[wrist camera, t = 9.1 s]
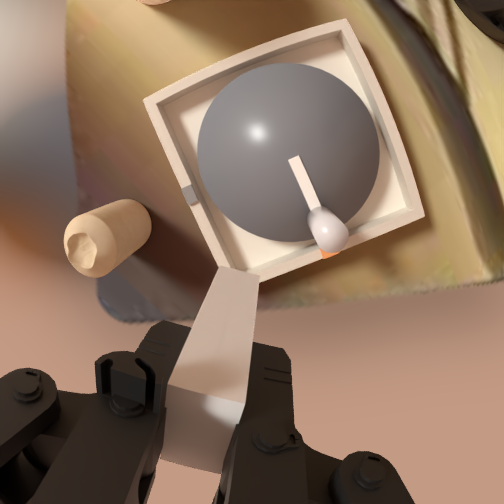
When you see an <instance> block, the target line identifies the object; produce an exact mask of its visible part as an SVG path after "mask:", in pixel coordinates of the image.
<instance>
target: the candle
mask: <svg viewBox="0 0 504 504" xmlns="http://www.w3.org/2000/svg"><path fill="white" fill-rule="evenodd" d="M150 233H151V218H150V216H149V213H148V211H147V210H146V209H145V207H144V206H143V205H142V204H140V203H139V202H137V201H135V200H131V199H122V200H119V201H116V202H113V203H110V204H108V205H105V206H102V207H100V208H97V209H95V210H92V211H89V212H87V213H84V214H82V215H79V216H77V217H75V218H74V219H73V220H72V221H71V222H70V223H69V224H68V226H67V228H66V231H65V235H64V247H65V252H66V255H67V257H68V259H69V261H70V262H71V264H72V265H73V266H74V268H75V269H77V270H78V271H79V272H80V273H82V274H84V275H86V276H89V277H94V278H97V277H102V276H104V275H106V274H107V273H109V272H110V271H111V270H113V269H114V268H115V267H116V266H118V265H119V264H120V263H121V262H122V261H124V260H125V259H126V258H127V257H129V256H130V255H131V254H133V253H134V252H135V251H136V250H138V249H139V248H140V247H141V246H142V245H144V244H145V242H146V241H147V240H148V238H149V236H150Z"/></svg>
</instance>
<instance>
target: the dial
mask: <svg viewBox="0 0 504 504" xmlns="http://www.w3.org/2000/svg"><path fill="white" fill-rule="evenodd" d="M197 158H198V166H199V171H200V175H201V178H202V181H203V183H204V186H205V188H206V191H207V192H208V194H209V196H210V198H211V199H212V201H213V202H214V203H215V205H216V206H217V207H218V209H219V210H220V211H221V212H222V213H223V214H224V215H225V216H226V217H227V218H228V219H229V220H231V221H232V222H233V223H234V224H236V225H237V226H239V227H240V228H242V229H244V230H245V231H247V232H249V233H251V234H254V235H256V236H258V237H262V238H265V239H269V240H274V241H280V242H298V241H306V240H311V239H315V240H316V242H317V244H318V246H319V247H320V248H321V249H322V250H323V251H325V252H328V253H335V252H339V251H341V250H342V249H343V248H344V247H345V246H346V245H347V243H348V240H349V232H348V229H347V227H346V226H345V225H344V224H345V223H347V222H348V221H349V220H350V219H351V218H352V217H353V216H354V215H355V214H356V213H357V212H358V211H359V210H360V209H361V207H362V206H363V205H364V203H365V202H366V200H367V199H368V197H369V195H370V193H371V191H372V189H373V187H374V184H375V181H376V178H377V174H378V168H379V159H380V148H379V139H378V135H377V130H376V127H375V124H374V122H373V119H372V117H371V115H370V113H369V111H368V109H367V107H366V106H365V104H364V103H363V101H362V100H361V99H360V97H359V96H358V95H357V94H356V93H355V92H354V91H353V90H352V89H351V88H350V87H349V86H348V85H347V84H345V83H344V82H343V81H342V80H340V79H339V78H337V77H335V76H334V75H332V74H330V73H328V72H326V71H324V70H322V69H319V68H316V67H313V66H309V65H304V64H298V63H276V64H270V65H265V66H261V67H258V68H255V69H253V70H250V71H248V72H246V73H244V74H242V75H240V76H239V77H237V78H236V79H234V80H233V81H231V82H230V83H229V84H228V85H227V86H226V87H225V88H223V89H222V90H221V91H220V93H219V94H218V95H217V96H216V97H215V99H214V100H213V101H212V103H211V105H210V106H209V108H208V110H207V111H206V114H205V116H204V118H203V121H202V124H201V127H200V131H199V136H198V143H197Z"/></svg>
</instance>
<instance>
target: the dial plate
mask: <svg viewBox="0 0 504 504" xmlns="http://www.w3.org/2000/svg"><path fill="white" fill-rule="evenodd" d="M276 63H298V64H304V65H309V66H313V67H316V68H319V69H322V70H324V71H326V72H328V73H330V74H332V75H334V76H335V77H337V78H339V79H340V80H342V81H343V82H344V83H345V84H347V85H348V86H349V87H350V88H351V89H352V90H353V91H354V92H355V93H356V94H357V95H358V96H359V97H360V99H361V100H362V101H363V103H364V104H365V106H366V107H367V109H368V111H369V113H370V115H371V117H372V119H373V122H374V124H375V127H376V130H377V135H378V139H379V148H380V159H379V168H378V174H377V178H376V181H375V184H374V187H373V189H372V191H371V193H370V195H369V197H368V199H367V200H366V202H365V203H364V205H363V206H362V207H361V209H360V210H359V211H358V212H357V213H356V214H355V215H354V216H353V217H352V218H351V219H350V220H349V221H348V222H347V223H345V224H344V225H345V226H346V227H347V229H348V232H349V240H348V243H347V245H346V246H345V247H344V248H343V249H342V250H345V249H347V248H350V247H352V246H355V245H357V244H360V243H362V242H365V241H367V240H370V239H372V238H375V237H377V236H379V235H382V234H384V233H387V232H389V231H392V230H394V229H396V228H399V227H401V226H404V225H406V224H408V223H411V222H413V221H416V220H418V219H420V218H423V217H425V215H424V211H423V207H422V203H421V200H420V196H419V193H418V189H417V186H416V182H415V179H414V176H413V173H412V170H411V166H410V163H409V160H408V157H407V154H406V151H405V149H404V146H403V143H402V140H401V137H400V135H399V132H398V129H397V126H396V124H395V121H394V119H393V116H392V114H391V111H390V109H389V106H388V104H387V101H386V99H385V97H384V94H383V92H382V90H381V87H380V85H379V83H378V81H377V78H376V76H375V74H374V72H373V70H372V68H371V66H370V63H369V61H368V59H367V57H366V55H365V53H364V51H363V49H362V47H361V45H360V43H359V41H358V40H357V38H356V36H355V34H354V32H353V30H352V28H351V26H350V25H349V23H348V21H347V19H346V18H345V19H341V20H337V21H333V22H329V23H326V24H322V25H318V26H315V27H311V28H308V29H305V30H302V31H298V32H295V33H292V34H289V35H286V36H283V37H280V38H277V39H274V40H272V41H269V42H266V43H263V44H261V45H258V46H255V47H253V48H250V49H248V50H245V51H243V52H240V53H238V54H235V55H233V56H230V57H228V58H226V59H223V60H221V61H219V62H216V63H214V64H212V65H210V66H208V67H205V68H203V69H201V70H199V71H197V72H195V73H193V74H191V75H189V76H187V77H185V78H183V79H181V80H179V81H177V82H175V83H173V84H171V85H169V86H167V87H165V88H163V89H161V90H159V91H158V92H156V93H154V94H152V95H150V96H149V97H147V98H145V99H143V102H144V104H145V107H146V109H147V111H148V114H149V116H150V118H151V121H152V123H153V125H154V128H155V130H156V132H157V134H158V137H159V139H160V141H161V144H162V146H163V148H164V150H165V153H166V155H167V157H168V159H169V162H170V164H171V166H172V168H173V171H174V173H175V175H176V177H177V179H178V182H179V184H180V186H181V188H182V189H181V190H182V193H183V195H184V197H185V199H186V201H187V204H188V205H189V206H190V208H191V210H192V212H193V214H194V216H195V218H196V221H197V223H198V225H199V227H200V229H201V231H202V233H203V235H204V238H205V240H206V242H207V244H208V246H209V248H210V250H211V252H212V254H213V256H214V259H215V261H216V263H217V265H218V267H219V266H224V267H228V268H232V269H236V270H240V271H244V272H248V273H252V274H257V275H260V280H259V283H260V282H263V281H265V280H268V279H271V278H273V277H276V276H279V275H281V274H284V273H286V272H289V271H292V270H294V269H297V268H299V267H302V266H304V265H307V264H310V263H312V262H315V261H317V260H320V259H322V258H323V259H325V258H328V257H331V256H333V255H336V254H338V253H340V251H339V252H335V253H328V252H325V251H323V250H322V249H321V248H320V247H319V246H318V244H317V242H316V240H315V239H311V240H306V241H298V242H280V241H274V240H269V239H265V238H262V237H258V236H256V235H254V234H251V233H249V232H247V231H245V230H244V229H242V228H240V227H239V226H237V225H236V224H234V223H233V222H232V221H231V220H229V219H228V218H227V217H226V216H225V215H224V214H223V213H222V212H221V211H220V210H219V209H218V207H217V206H216V205H215V203H214V202H213V201H212V199H211V198H210V196H209V194H208V192H207V191H206V188H205V186H204V183H203V181H202V178H201V175H200V171H199V166H198V158H197V143H198V136H199V131H200V127H201V124H202V121H203V118H204V116H205V114H206V111H207V110H208V108H209V106H210V105H211V103H212V101H213V100H214V99H215V97H216V96H217V95H218V94H219V93H220V91H221V90H222V89H223V88H225V87H226V86H227V85H228V84H229V83H230V82H231V81H233V80H234V79H236V78H237V77H239V76H240V75H242V74H244V73H246V72H248V71H250V70H253V69H255V68H258V67H261V66H265V65H270V64H276ZM342 250H341V251H342Z"/></svg>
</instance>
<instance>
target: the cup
mask: <svg viewBox="0 0 504 504" xmlns="http://www.w3.org/2000/svg"><path fill="white" fill-rule="evenodd" d="M136 1H139V2H141V3H144V4H148V5H158V4H163V3H166V2H169V1H171V0H136Z"/></svg>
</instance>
